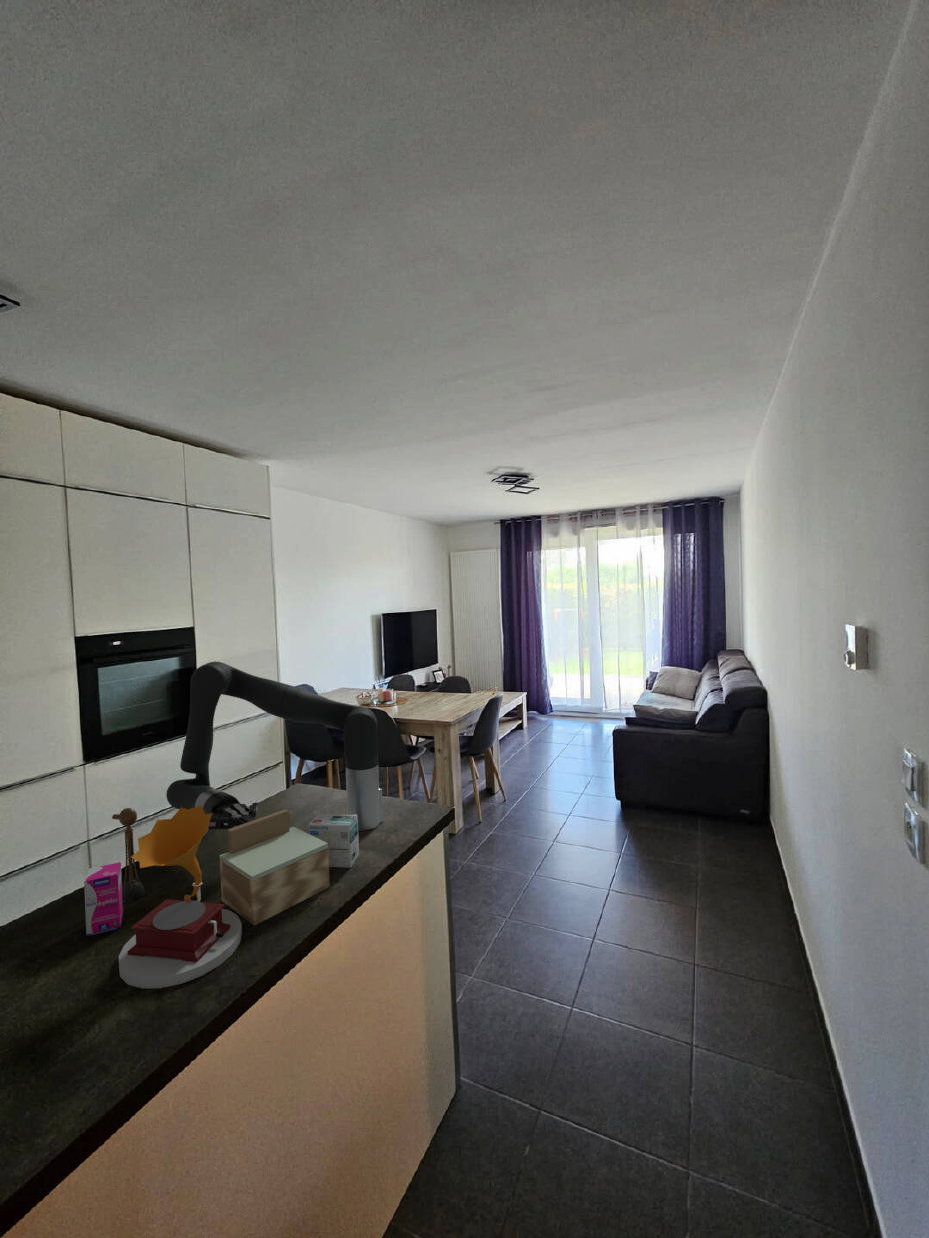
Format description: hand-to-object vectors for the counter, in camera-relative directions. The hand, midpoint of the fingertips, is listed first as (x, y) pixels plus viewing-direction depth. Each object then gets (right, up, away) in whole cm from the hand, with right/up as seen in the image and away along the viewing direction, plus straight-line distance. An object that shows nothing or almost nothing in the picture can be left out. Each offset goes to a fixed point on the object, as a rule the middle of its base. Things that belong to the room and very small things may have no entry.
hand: (251, 824), depth 125 cm
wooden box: (+8, -13, -6) cm, 16 cm away
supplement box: (-23, -15, -16) cm, 32 cm away
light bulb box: (+17, -12, +9) cm, 23 cm away
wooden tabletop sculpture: (-25, -14, -5) cm, 29 cm away
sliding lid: (+8, -4, -6) cm, 10 cm away
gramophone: (-4, -15, -23) cm, 28 cm away
